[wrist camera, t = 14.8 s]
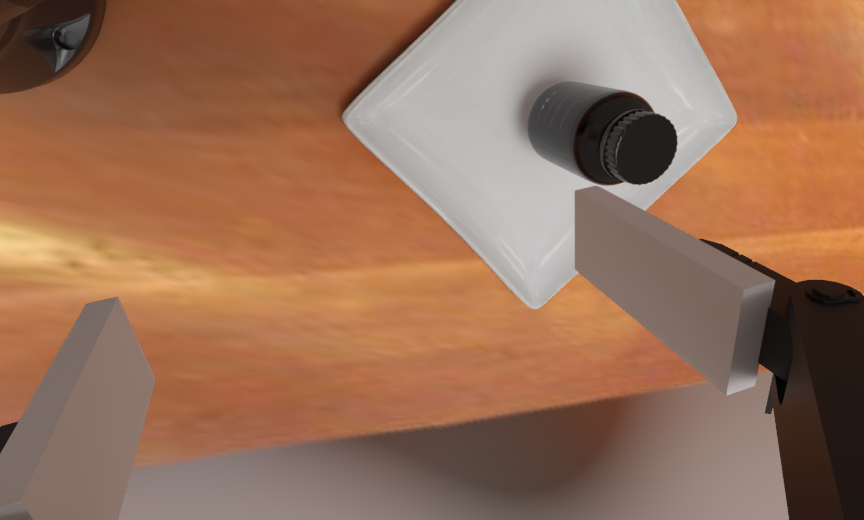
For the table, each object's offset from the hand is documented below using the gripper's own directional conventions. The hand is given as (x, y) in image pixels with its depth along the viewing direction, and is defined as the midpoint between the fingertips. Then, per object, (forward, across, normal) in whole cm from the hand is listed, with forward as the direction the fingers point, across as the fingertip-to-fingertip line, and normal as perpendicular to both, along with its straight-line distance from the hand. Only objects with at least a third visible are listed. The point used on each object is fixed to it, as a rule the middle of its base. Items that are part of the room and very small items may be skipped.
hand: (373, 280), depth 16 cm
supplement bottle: (+28, +21, -4) cm, 36 cm away
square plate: (+32, +21, -5) cm, 39 cm away
